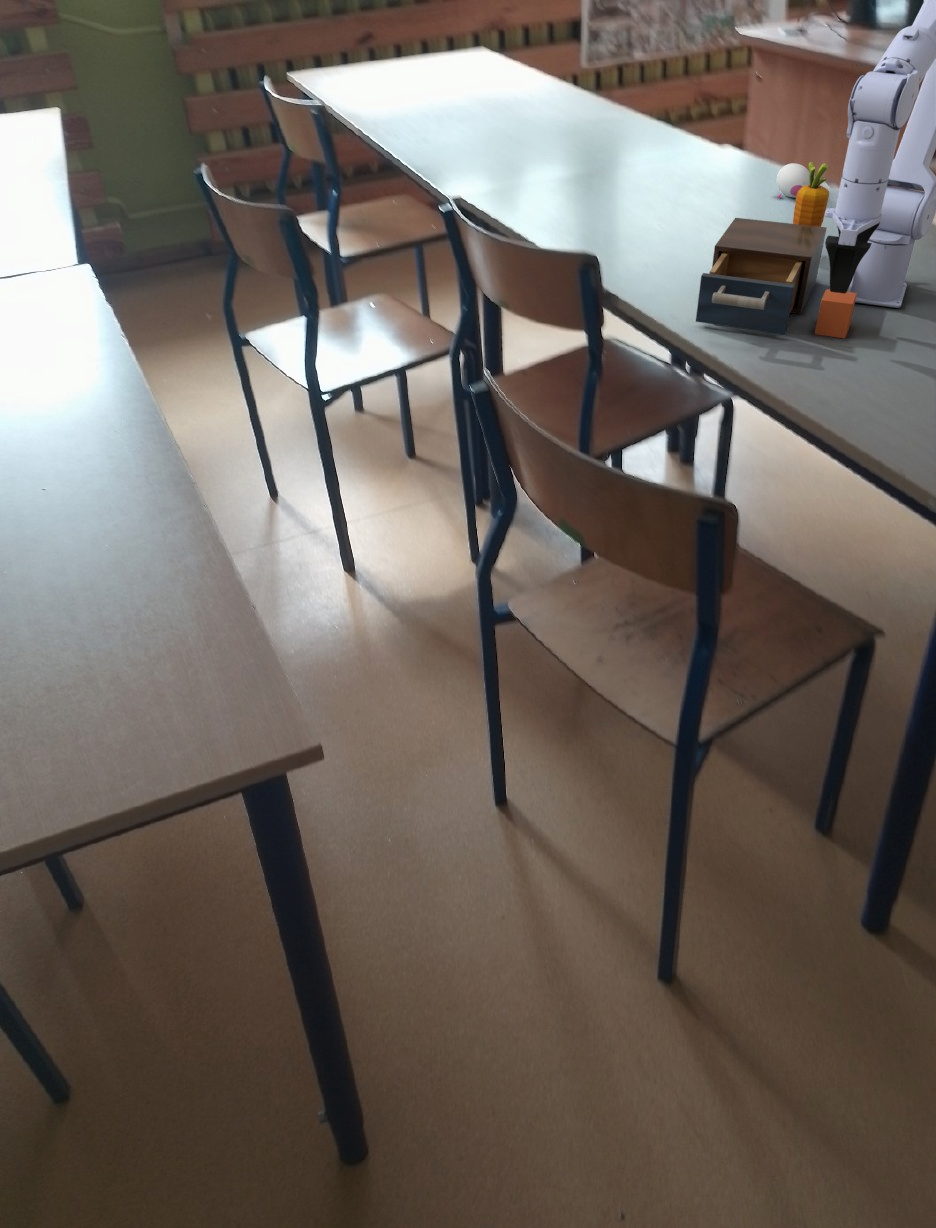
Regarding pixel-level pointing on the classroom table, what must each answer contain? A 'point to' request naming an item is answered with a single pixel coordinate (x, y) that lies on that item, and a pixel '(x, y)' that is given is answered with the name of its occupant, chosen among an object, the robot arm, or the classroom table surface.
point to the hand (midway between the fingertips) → (842, 281)
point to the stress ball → (792, 179)
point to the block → (835, 314)
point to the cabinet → (777, 247)
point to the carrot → (812, 199)
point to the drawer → (749, 292)
